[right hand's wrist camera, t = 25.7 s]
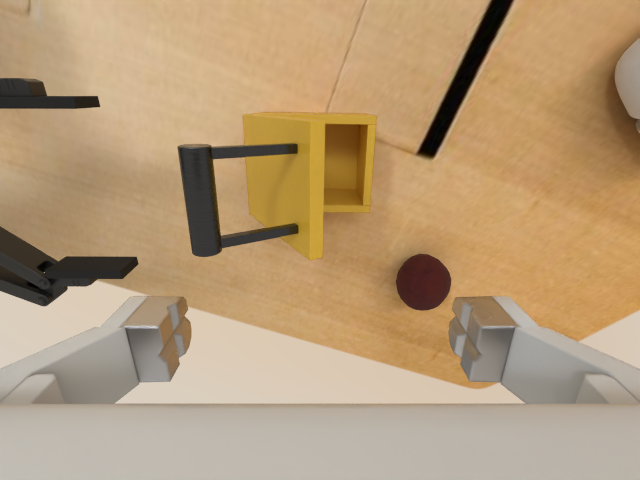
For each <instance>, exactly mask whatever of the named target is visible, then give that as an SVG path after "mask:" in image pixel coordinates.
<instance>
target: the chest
mask: <svg viewBox="0 0 640 480" xmlns="http://www.w3.org/2000/svg"><path fill="white" fill-rule="evenodd" d="M254 114H257V115H268V116H279V117H290V118H301V119H312V120H323V121H325V165H324V212H346V213H370V203H371V189H372V175H373V161H374V148H375V134H376V120H377V116H374V115H370V114H362V113H295V112H260V113H254Z"/></svg>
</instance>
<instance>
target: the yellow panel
mask: <svg viewBox="0 0 640 480" xmlns="http://www.w3.org/2000/svg"><path fill="white" fill-rule="evenodd" d="M243 129H244V144H245V145H240V146H219V147H211V145H207V144H187V145H180V146H178V154H179V161H180V168H181V176H182V183H183V190H184V197H185V204H186V211H187V219H188V226H189V233H190V240H191V247H192V253H193V254H194V255H195V256H199V257H208V256H213V255H216V254H218V253H220V252H221V251H222V248H225V247H230V246H236V245H241V244H246V243H251V242H256V241H262V240H267V239H272V238H277V237H280V238H281V239H283V240H284V241H285V242H287V243H288V244H289V245H290V246H292V247H293V248H294V249H296V250H297V251H298V252H300V253H301V254H302V255H303V256H305V257H306V258H307V259H309V260H314V259H318V258H322V257H323V218H324V165H325V121H323V120H312V119H301V118H290V117H279V116H268V115H257V114H243ZM239 157H245V159H246V173H247V188H248V203H249V214H250V215H251V216H253V217H254V218H255V219H257V220H258V221H259V222H261V223H262V224H263V225H264V226H266V227H267V228H263V229H257V230H252V231H246V232H240V233H235V234H229V235H223V236H221V234H220V225H219V215H218V205H217V195H216V186H215V176H214V166H213V159H223V158H239Z"/></svg>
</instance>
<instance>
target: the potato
mask: <svg viewBox="0 0 640 480" xmlns="http://www.w3.org/2000/svg"><path fill="white" fill-rule="evenodd" d="M396 285H397V290H398V294H399V296H400V298H401V299H402V300H403V301H404V302H405V303H406V304H407V306H409V307H411V308H413V309H416V310H430V309H433V308H435V307H437V306H439V305H440V304H441V303H442V302H443V301H444V299H445V298H446V297H447V295H448V293H449V290H450V285H451V277H450V274H449V272H448V270H447V268H446V267H445V266H444V265H443V264H442V263H441V262H440V261H439V260H438V259H436V258H434V257H432V256H430V255H427V254H418V255H415V256H412V257H411V258H409V259H408V260H407V261H406V262H404V264H403V265H402V267H401V268H400V270H399V272H398V275H397V280H396Z"/></svg>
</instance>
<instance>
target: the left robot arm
mask: <svg viewBox="0 0 640 480" xmlns="http://www.w3.org/2000/svg"><path fill="white" fill-rule="evenodd" d="M92 107H100V104H99V100H98V96H47V94H46V91H45V87H44V84H43V82H41V81H39V80H36V79H22V78H0V108H44V109H77V108H92ZM137 265H138V260H137V257H65V258H63V259H62V260H60V261H59V262H58V261H57V260H55V259H53V258H52V257H50V256H48V255H47V254H45V253H43V252H42V251H40V250H38V249H37V248H35V247H33V246H32V245H30V244H28V243H27V242H25V241H23V240H22V239H20V238H18V237H17V236H15V235H13V234H12V233H10V232H8V231H7V230H5V229H3V228H2V227H0V291H2V292H5V293H8V294H10V295H13V296H16V297H19V298H21V299H24V300H27V301H30V302H32V303H35V304H38V305H40V306H47V305H48V304H50V303H51V302H52V301H54V300H55V299H56V298H58V297H59V296H60V295H61V294H63V293H64V292H65V291H66V290H67V289H68V288H67V286H88V285H91V284H92V283H93V282H95V281H96V280H97V279H123V278H124V277H125V276H126V275H127V274H128V273H129V272H131V271H132V270H133V269H134V268H135V267H136V266H137ZM43 272H45V273H43Z"/></svg>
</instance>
